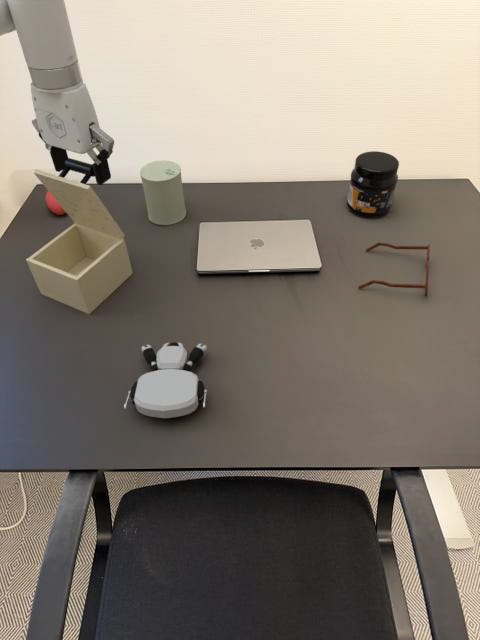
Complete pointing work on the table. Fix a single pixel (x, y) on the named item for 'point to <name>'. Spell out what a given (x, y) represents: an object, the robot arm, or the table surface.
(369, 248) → the glasses
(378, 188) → the supplement container
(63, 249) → the open box
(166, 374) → the robot toy
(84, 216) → the box lid
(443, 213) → the table surface
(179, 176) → the can
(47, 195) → the stress ball
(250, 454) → the table surface
